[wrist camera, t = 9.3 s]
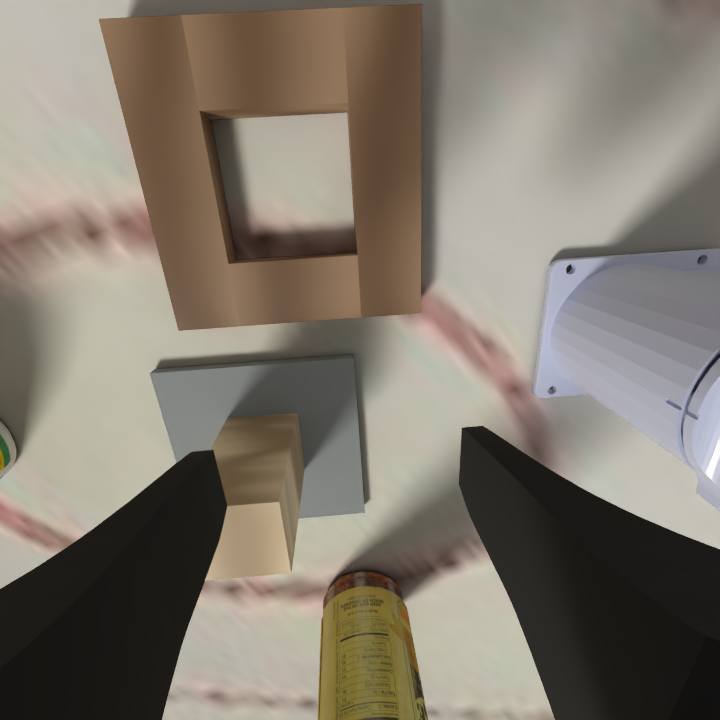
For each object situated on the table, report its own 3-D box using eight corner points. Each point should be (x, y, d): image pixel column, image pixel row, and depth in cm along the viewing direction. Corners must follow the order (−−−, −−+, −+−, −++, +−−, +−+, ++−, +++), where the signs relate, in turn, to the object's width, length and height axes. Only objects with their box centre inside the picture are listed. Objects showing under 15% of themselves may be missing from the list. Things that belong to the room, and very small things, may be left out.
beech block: (297, 412, 21) (279, 502, 14) (304, 469, 22) (291, 573, 16) (227, 417, 21) (177, 509, 14) (239, 474, 22) (198, 580, 16)
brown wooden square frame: (414, 23, 15) (421, 3, 14) (415, 306, 20) (420, 313, 18) (121, 37, 15) (98, 18, 13) (190, 322, 19) (178, 330, 18)
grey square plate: (353, 354, 20) (353, 357, 20) (363, 505, 25) (364, 512, 24) (155, 369, 20) (149, 373, 20) (199, 520, 24) (196, 527, 24)
